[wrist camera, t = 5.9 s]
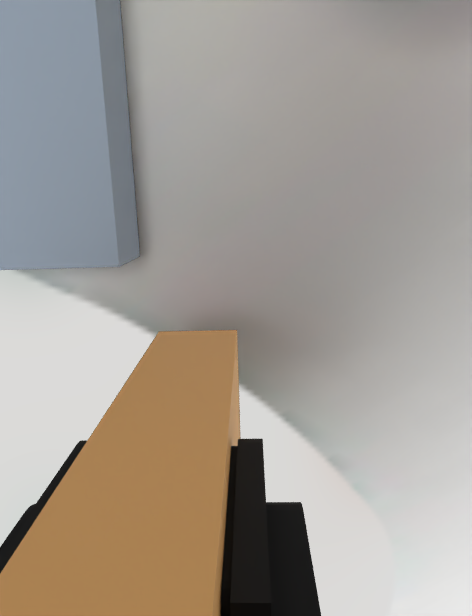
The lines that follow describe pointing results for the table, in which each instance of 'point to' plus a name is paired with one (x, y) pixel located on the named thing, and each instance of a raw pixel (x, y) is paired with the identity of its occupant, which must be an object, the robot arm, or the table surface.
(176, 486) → the orange rectangular block
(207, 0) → the table surface
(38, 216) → the grey base with post
